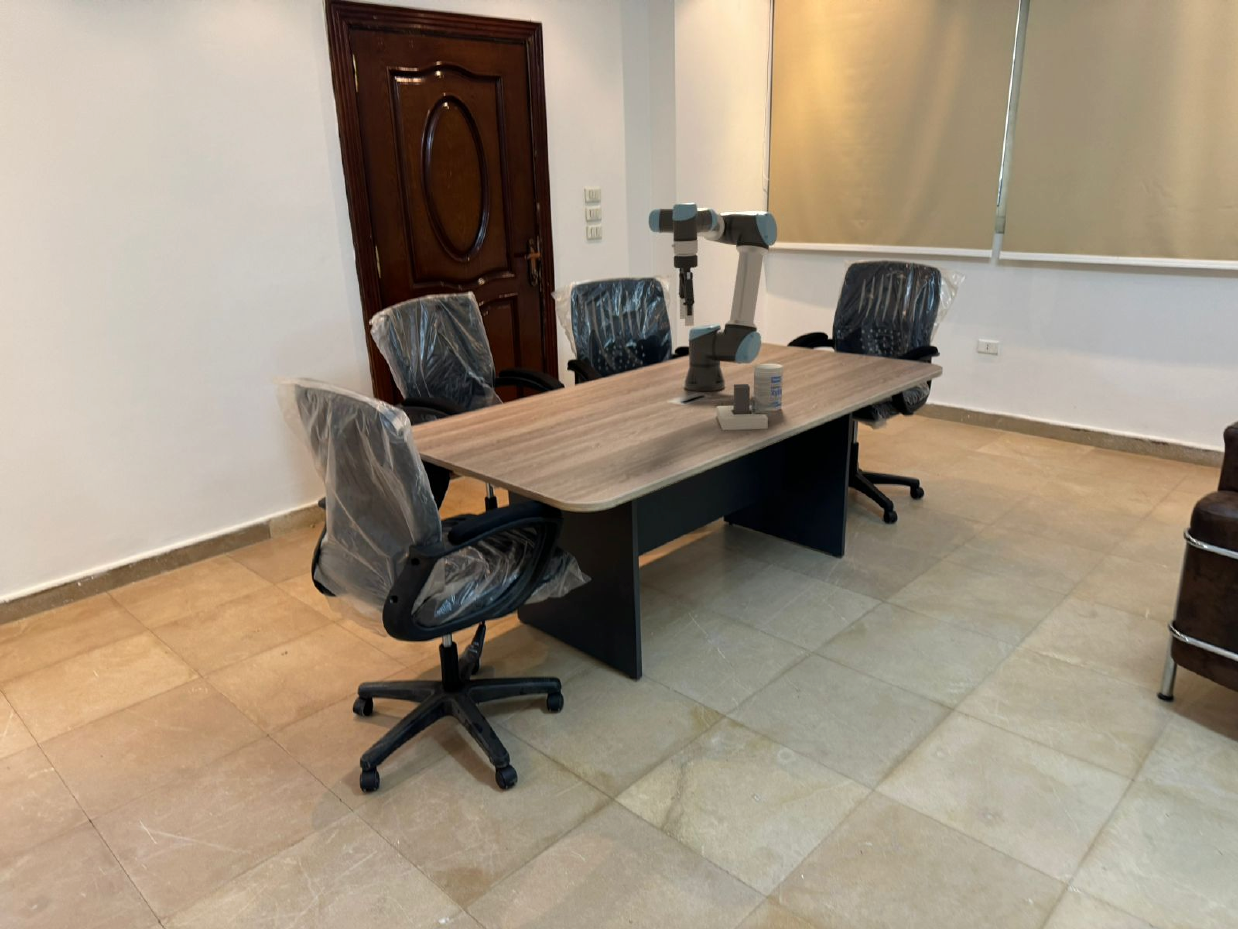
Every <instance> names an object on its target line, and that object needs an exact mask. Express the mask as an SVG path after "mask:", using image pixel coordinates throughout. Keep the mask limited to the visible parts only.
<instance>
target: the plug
mask: <svg viewBox="0 0 1238 929" xmlns="http://www.w3.org/2000/svg"><path fill="white" fill-rule="evenodd" d="M750 388H751V386H750V385H749V384H748V383H741V384H739V383H738V384H733V406H734V415H736V414H749V405H751V404H750V402H751V400H750V395H751V392H750V391H751V389H750Z"/></svg>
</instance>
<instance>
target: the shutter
mask: <svg viewBox="0 0 1238 929" xmlns="http://www.w3.org/2000/svg"><path fill="white" fill-rule="evenodd" d="M751 405H752V409H753V411H754V413H765V414H775V413H778V410H777V409H776V408H775V406H774V405H759V401H758V399H757V398H756V397H754V396H751Z"/></svg>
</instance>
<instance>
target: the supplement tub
mask: <svg viewBox="0 0 1238 929" xmlns="http://www.w3.org/2000/svg"><path fill="white" fill-rule="evenodd" d="M783 377H784V369H783V365H781V364H778V363H757V364H756V365H754V369H753V397H756V398H757V399H758V401H759V405H774V406H775V408H776V409H777V411H779V410H781V409H782V406H783V404H782V403H783V401H782V400H783V382H784V381H783Z"/></svg>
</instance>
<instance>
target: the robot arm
mask: <svg viewBox="0 0 1238 929" xmlns="http://www.w3.org/2000/svg"><path fill="white" fill-rule="evenodd" d="M697 205H698V204H696V203H695V202H683V203H682V202H681V203H675V204H674V205H673V207H672V208H657V209H656V208H655V209H652V210H651V211H650V213H649V215H648V227H649V229H650V231H652V232H653V233H659V234H661V233H665V234H666V233H668V234H672V235H673V244H671V248H673V254H674V256H673V267H674V268H675V269H679V270H678V271H679V274H678V277H679V279H678V280H679V281H678V282H679V283H678V295H679V296H678V298H679V319H680V320H683V319H684V326H685V327H690V326H691V327H692V328H691V329H690V330H689V333H688V358H689V359H688V362H689V363H688V366H689V367H688V370H687V374H686V377H685V380H684V388H685V389H686V390H688V391H692V392H693V391H694V392H714V391H720V390H723V389H724V388H725V387H726V386H725V385H726V380H725V377H724V373H723V371H722V369H721V368H722V367H721V362H725V363H733V364H739V365H741V364H745V365H746V364H751V363H753V362H754V361H755V360H756V358H757V357H758V356H759V353H760V351H761V347H762V335H761V334H760V332H758V327H757V325H756V324H755V315H756V308H757V301H758V297H759V296H758V295H759V288H760V283H761V275H762V268H763V262H764V256H765V255H767V254H768V253H769V248H770V247H772V246H774V245H775V244H776V241H777V238H778V227H777V222H776V218H775V217H774V215H773V214H772V213H771V212H768V211H760V210H758V211H756V210H755V211H729V212H722V213H717V212H716V211H715V210H714V209H713V208H711V207H704V206H703V207H698V206H697ZM698 237H701V238H704V239H705V240H707V241H709V242H714V243H720V244H725V245H729V246H735V249H736V250H737V252H738V260H737V261H738V262H737V269H736V276H735V282H734V289H733V297H732V305H731V310H730V311H731V312H730V316H729V317H730V318H729V320H728V321H727V322H726V323H725V324H724V329H722V327H721V324H715V323H714V324H706V325H699V326H696V327H694V324H695V323H694V320H695V318H694V312H695V311H694V307H695V305H694V304H695V303H696V302H695V294H694V293H695V292H694V278H693V277H694V273H693V271H691V269H694V268H697V267H698V266H699V265H698V264H699V260H698V255H697V254H698V252H699V249H698V248H699V247H698V241H699V240H698Z"/></svg>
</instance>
